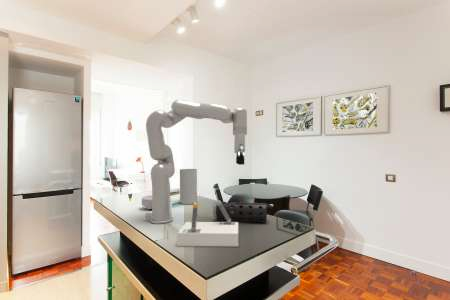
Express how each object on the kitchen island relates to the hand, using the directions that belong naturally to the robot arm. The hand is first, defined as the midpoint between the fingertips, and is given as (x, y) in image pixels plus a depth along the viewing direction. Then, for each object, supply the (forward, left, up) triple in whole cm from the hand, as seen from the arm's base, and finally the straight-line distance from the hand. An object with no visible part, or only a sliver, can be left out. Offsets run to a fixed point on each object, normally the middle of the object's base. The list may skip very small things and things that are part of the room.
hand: (240, 164), depth 129 cm
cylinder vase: (-38, +50, -31) cm, 70 cm away
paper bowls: (-58, +32, -31) cm, 73 cm away
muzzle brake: (0, +2, -31) cm, 31 cm away
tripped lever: (-19, -31, -24) cm, 44 cm away
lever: (-5, -20, -25) cm, 32 cm away
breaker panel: (-13, -26, -31) cm, 42 cm away
